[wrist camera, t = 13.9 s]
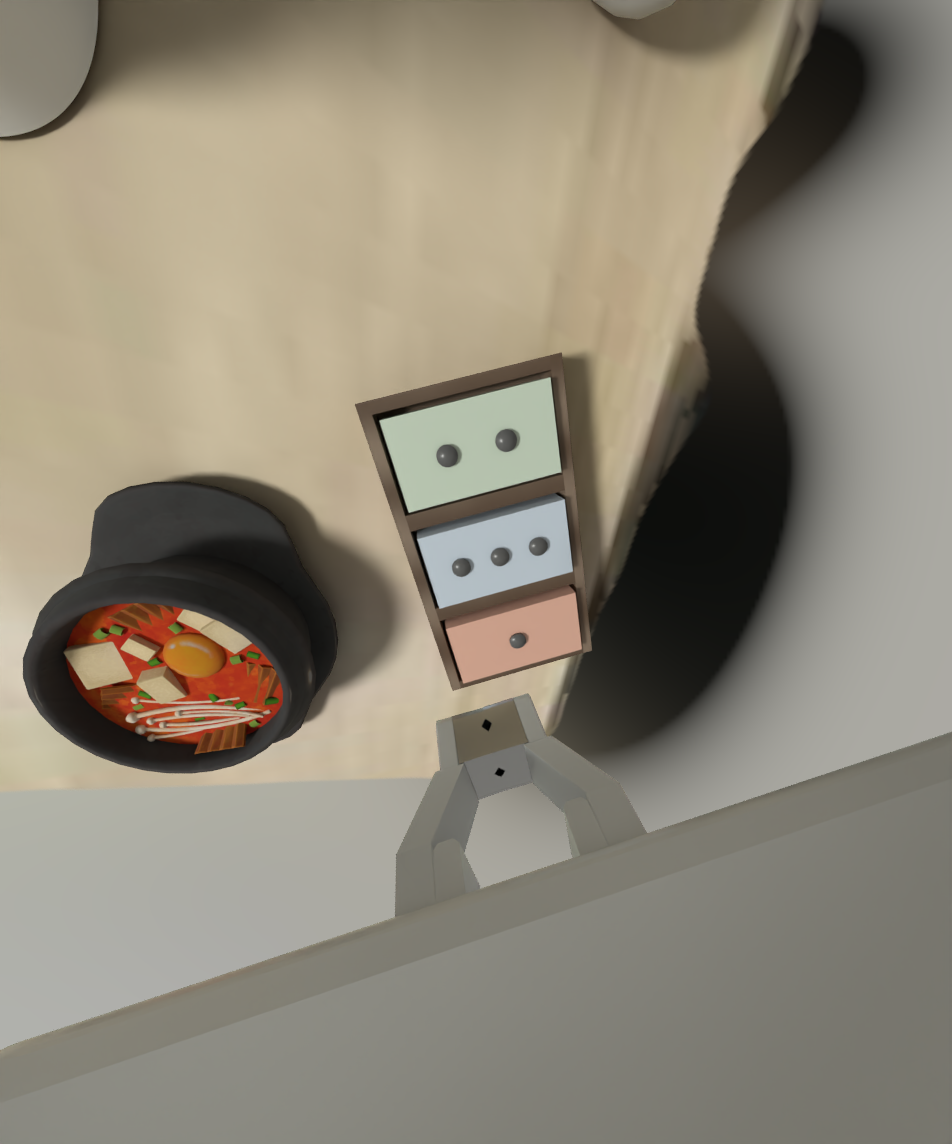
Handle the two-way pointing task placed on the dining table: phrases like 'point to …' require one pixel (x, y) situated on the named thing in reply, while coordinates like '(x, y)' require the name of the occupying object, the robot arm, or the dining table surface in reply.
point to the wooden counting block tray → (480, 498)
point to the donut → (634, 7)
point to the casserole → (182, 633)
